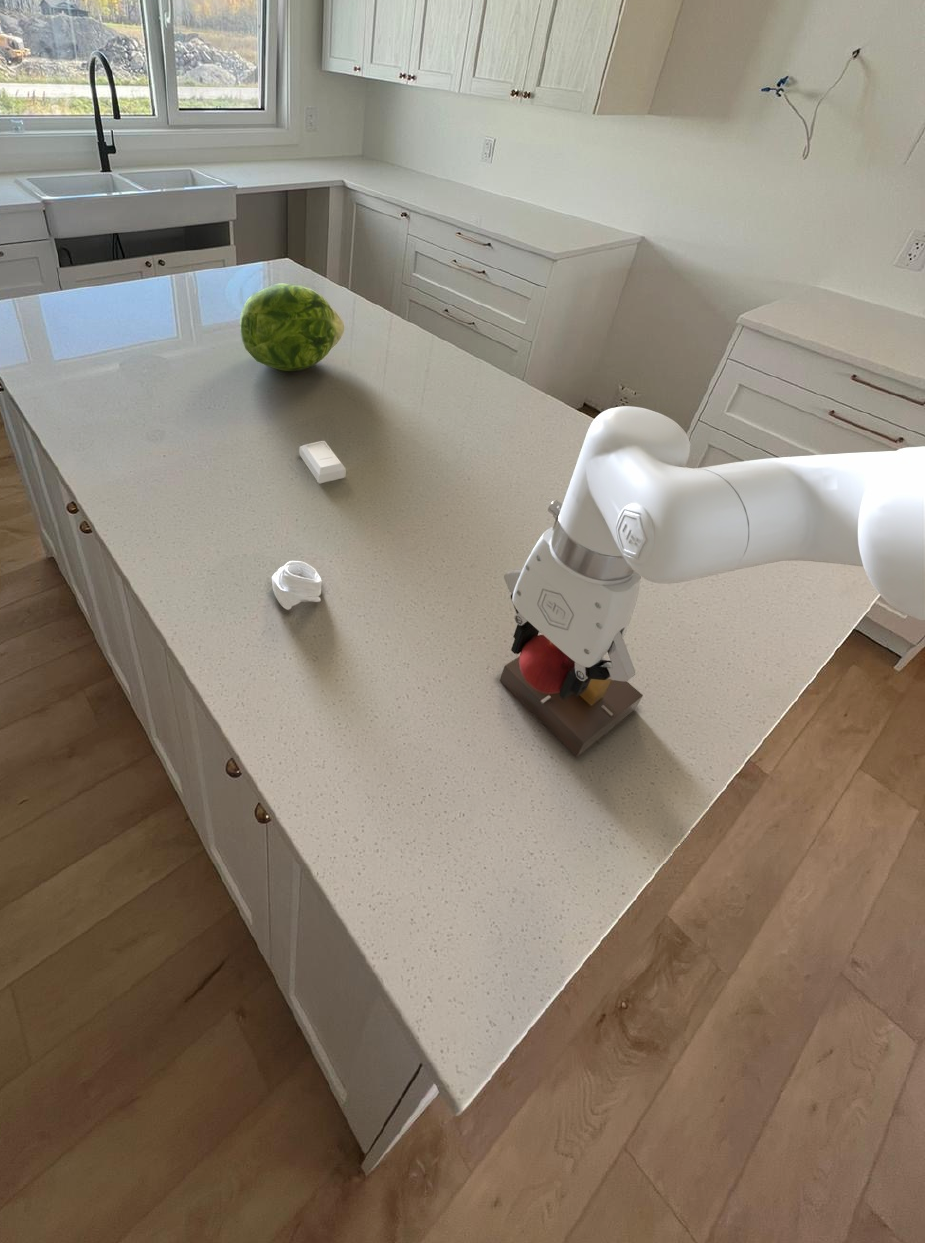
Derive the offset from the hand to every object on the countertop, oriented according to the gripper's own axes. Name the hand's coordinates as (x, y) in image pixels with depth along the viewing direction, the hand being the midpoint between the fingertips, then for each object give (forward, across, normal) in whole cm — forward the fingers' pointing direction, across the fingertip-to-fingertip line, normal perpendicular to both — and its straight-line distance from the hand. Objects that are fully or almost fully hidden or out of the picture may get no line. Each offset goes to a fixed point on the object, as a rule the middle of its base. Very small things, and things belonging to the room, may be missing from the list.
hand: (546, 667), depth 66 cm
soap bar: (+12, -55, +8) cm, 57 cm away
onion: (+3, 0, 0) cm, 3 cm away
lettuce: (+12, -92, +24) cm, 96 cm away
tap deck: (+11, 0, +8) cm, 14 cm away
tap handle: (+8, 0, +8) cm, 12 cm away
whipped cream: (+12, -32, -11) cm, 36 cm away
